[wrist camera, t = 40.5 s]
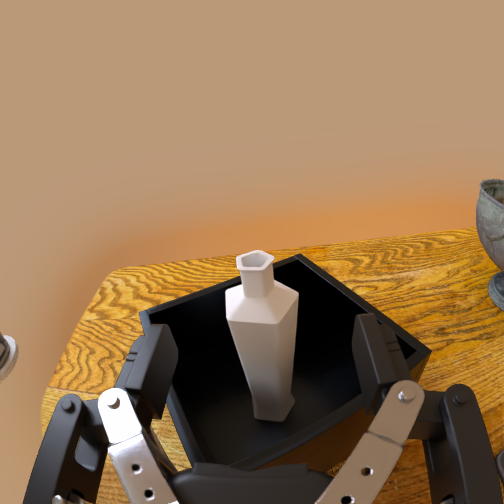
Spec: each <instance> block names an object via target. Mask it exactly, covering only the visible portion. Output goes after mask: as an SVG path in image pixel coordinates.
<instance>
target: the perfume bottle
mask: <svg viewBox="0 0 504 504" xmlns="http://www.w3.org/2000/svg"><path fill="white" fill-rule="evenodd" d="M274 259H275V258H274V256H272V255H270V254H268V253H265V252H263V251H261V250H255V251H252V252H249V253H246V254H242V255H239V256H238V257H237V258H236V263H237V269H238V270H239V271H240V275H241V281H242V284H241V285H238V286H236V287H233V288H230V289H227V290H226V292H225V294H226V318H227V321H228V324H229V327H230V330H231V334H232V337H233V340H234V343H235V346H236V349H237V352H238V355H239V358H240V361H241V364H242V367H243V370H244V373H245V376H246V379H247V382H248V384H249V387H250V390H251V393H252V403H253V411H254V417H255V419H260V420H268V421H277V422H282V421H284V420H285V418H286V417H287V415H288V413H289V412H290V410H291V408H292V406H293V405H294V403H295V400H294V398H293V396H292V394H291V383H292V373H293V362H294V351H295V339H296V327H297V313H298V298H299V293H298V292H297V291H295V290H293V289H291V288H289V287H287V286H285V285H283V284H281V283H279V282H277V281H275V280H274V276H273V265H272V262H273V261H274Z"/></svg>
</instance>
